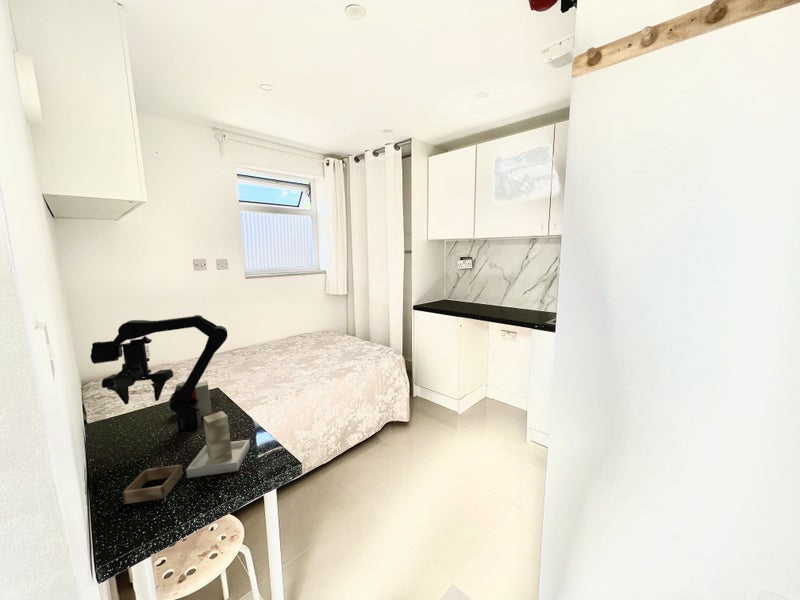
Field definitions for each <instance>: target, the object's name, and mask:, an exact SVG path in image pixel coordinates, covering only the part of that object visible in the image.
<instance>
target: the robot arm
mask: <svg viewBox="0 0 800 600" xmlns="http://www.w3.org/2000/svg"><path fill="white" fill-rule="evenodd" d="M190 328H195V329H197V330H198V331H199V332H201V333H203V334H204V335H205V336H207V337H208V338H207V340H206V343H205V346H204V348H203V351H202V352H201V354H200V356H199V357H198V359H197V361H196V362H195V364H194V366H193V368H192V370H191V371H190V373H189V375H188V377H187V378H186V380H185V381H184V382H185V383H184V384H183V385H182V386H179V385H178V384H176V385H177V387H176V386H175V389H174V391H173V393H172V394H171V396H170V398H169V400H168V402H170V403H169V409H170V410H171V411H172V412H174V413H176V414H177V418H176V426H177V429H178V430H177V431H176V433H177V434H181V433H182V434H183V433H189V432H196V431H198V430H199V429H200V428H201V427H202V425H204V420H202V417H201V412H200V409H197V406H198V402H199V401H198V400H197V399H195V398H193V397H192V395H193V392H194V389H195V387H196V385H197V383H198V382H199V381H200V379H201V378H202V376H203V375H204V373H205V371H206V369H207V367H208V366H209V363H210V362H211V360H212V358H213V357H214V355H215V353H216V352H218V350H219V349H220V348H221V347H222V345H223V344H224V343H225V342H226V340H227V339H228V330H227V328H226V327H224V326H222V325H216V324H215V323H213V322H212V321H209V320H208V319H206V318H204V317H203V316H202V315H199V314H196V315H192V316H184V317H177V318H168V319H159V320H149V319H148V320H147V319H145V320H144V319H132V320H131V319H130V320H128V321H126V322H124V323H122V324H121V325H120V326H119V327H118V330H117V333H118V334H117V335H116V336H115V338H114V339H113V340H110V341H95V342H92V344H91V345H92V347H91V350H90V351H91V352H90V360H91V363H92V364H93V365H95V364H103V363H110V362H117V361H119V359H120V358H122V357H123V359H124V362H123V363H122V364H121V365H122V366H121V370H120V371H119V372H117V373H114V374H111V375H109V376H107V377H105V378H103V379H102V380H101V382H100V383H101V388H102V389H106V390H110V391H113V392H115V393H116V395H117V396H118V397H119V398H120V399H121V401H122V402H123V404H124V405H128V404H129V400H130V394H129V393H130V392H129V387H132V386H134V385H135V384H136V382H140V381H151V382H152V383H151V384H150V385H151V386H152V387H153V394H154V400H155V402H159V400H160V397H161V395H162V392H163V388H164V386H165V385H166V382H167V381H169V380H170V379H172V378H173V377H174V371H173V370H172V369H170V368H169V369H159V370H157V371H155V372H154V373H152V370H151V368H150V369H149V364H148V362H149V361H150V358H149V357H147V350H146V345H148V344H150V343H152V342H153V339H151V338H149V337H148V335H151V334H154V333H155V334H156V333H160V332H169V331H175V330H182V329H183V330H184V329H190ZM128 340H130V341H129V342H126V341H128ZM124 342H126V343H124ZM199 383H200V382H199Z"/></svg>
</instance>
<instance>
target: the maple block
mask: <svg viewBox="0 0 800 600" xmlns="http://www.w3.org/2000/svg"><path fill="white" fill-rule="evenodd" d="M202 417H203V421H204V423H203V426H204V427H203V428H204V434H205V443H206V445H207V452H208V459H209V460H210V462H211V463H212V464H218V463H221V462H224V461H226V460H228V459H230V458H232V450H231V442H232V441H231V434H230V426H229V416H228V414H226V413H225V412H224V411H223V410H222V411H217V412H215V413H212V414H210V415H206V416H202Z"/></svg>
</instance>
